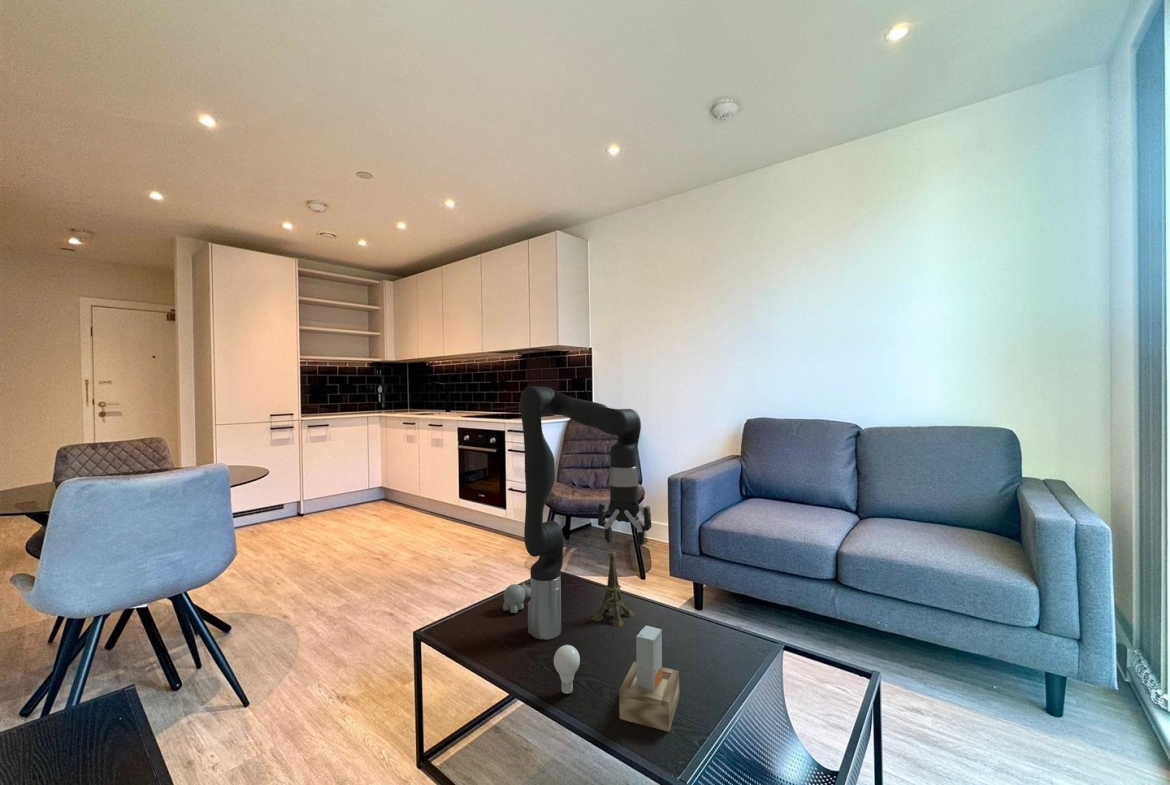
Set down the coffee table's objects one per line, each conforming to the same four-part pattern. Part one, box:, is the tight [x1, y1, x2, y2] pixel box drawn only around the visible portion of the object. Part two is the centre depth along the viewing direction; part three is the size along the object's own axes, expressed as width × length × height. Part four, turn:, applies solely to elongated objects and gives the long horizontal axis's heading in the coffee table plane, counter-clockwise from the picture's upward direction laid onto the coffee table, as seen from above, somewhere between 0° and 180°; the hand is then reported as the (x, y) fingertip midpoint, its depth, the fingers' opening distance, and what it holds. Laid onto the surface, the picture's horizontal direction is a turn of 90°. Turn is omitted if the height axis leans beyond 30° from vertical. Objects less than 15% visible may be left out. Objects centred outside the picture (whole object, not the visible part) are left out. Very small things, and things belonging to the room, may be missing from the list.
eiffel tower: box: [590, 543, 636, 628], centre depth 148 cm, size 11×11×25 cm
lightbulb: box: [553, 644, 581, 695], centre depth 109 cm, size 6×6×11 cm
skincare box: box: [635, 625, 663, 694], centre depth 103 cm, size 6×4×12 cm
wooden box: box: [618, 661, 680, 733], centre depth 103 cm, size 11×12×6 cm
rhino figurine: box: [502, 581, 531, 614], centre depth 155 cm, size 7×12×8 cm, turn 140°
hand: (624, 543), depth 121 cm, fingers open, 8 cm apart
